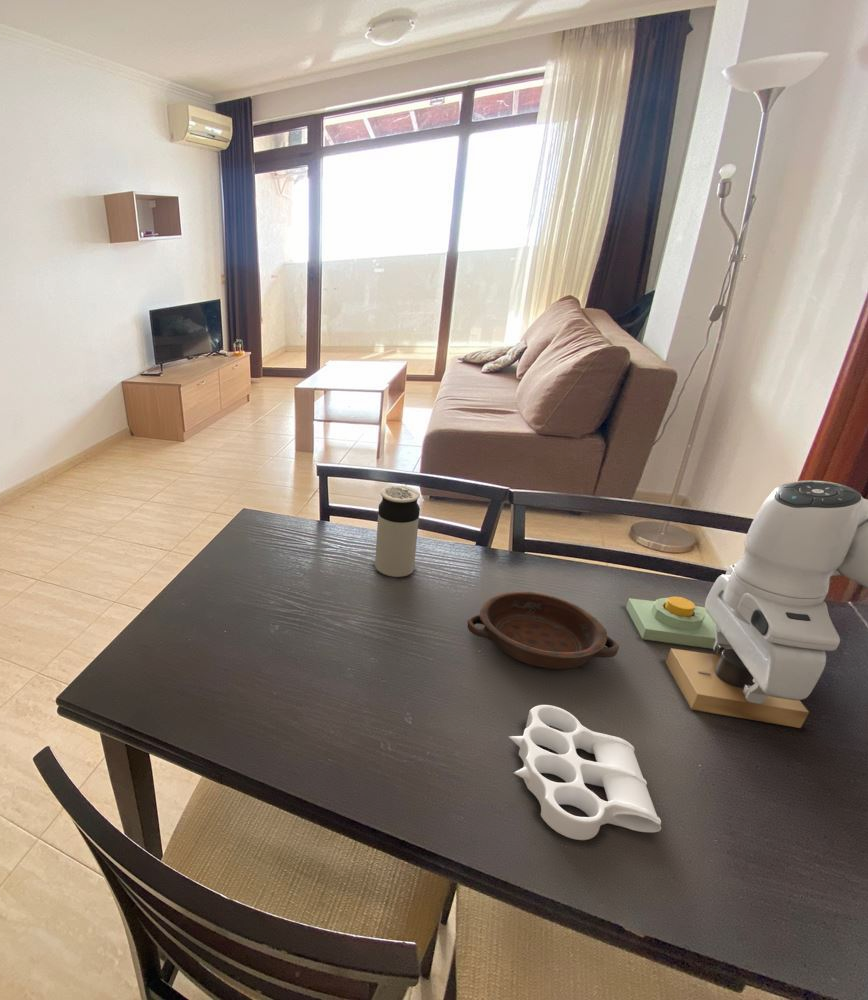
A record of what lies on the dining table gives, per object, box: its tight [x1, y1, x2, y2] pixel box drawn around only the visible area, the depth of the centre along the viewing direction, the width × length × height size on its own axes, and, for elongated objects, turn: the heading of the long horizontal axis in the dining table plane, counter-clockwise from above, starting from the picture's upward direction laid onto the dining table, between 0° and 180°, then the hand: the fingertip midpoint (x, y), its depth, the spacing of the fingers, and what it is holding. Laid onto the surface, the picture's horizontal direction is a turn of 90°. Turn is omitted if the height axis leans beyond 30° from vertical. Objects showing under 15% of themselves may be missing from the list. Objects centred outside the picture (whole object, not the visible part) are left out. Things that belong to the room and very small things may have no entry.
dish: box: [466, 590, 620, 670], centre depth 91 cm, size 18×22×5 cm
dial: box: [715, 649, 755, 688], centre depth 78 cm, size 4×4×4 cm
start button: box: [665, 596, 696, 617], centre depth 91 cm, size 4×4×2 cm
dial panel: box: [665, 648, 810, 729], centre depth 79 cm, size 12×10×3 cm
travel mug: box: [374, 485, 421, 578], centre depth 113 cm, size 8×8×18 cm
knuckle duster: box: [508, 704, 662, 841], centre depth 69 cm, size 3×18×15 cm
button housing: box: [625, 597, 716, 650], centre depth 92 cm, size 11×9×4 cm
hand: (735, 675), depth 78 cm, fingers open, 8 cm apart
